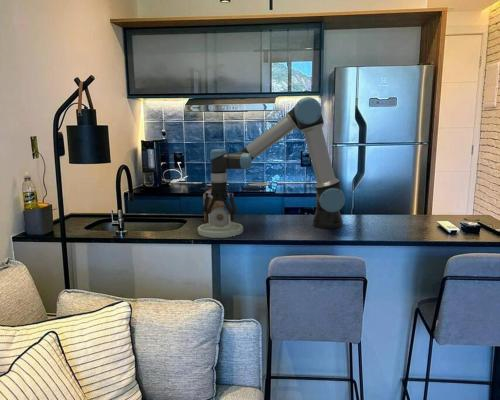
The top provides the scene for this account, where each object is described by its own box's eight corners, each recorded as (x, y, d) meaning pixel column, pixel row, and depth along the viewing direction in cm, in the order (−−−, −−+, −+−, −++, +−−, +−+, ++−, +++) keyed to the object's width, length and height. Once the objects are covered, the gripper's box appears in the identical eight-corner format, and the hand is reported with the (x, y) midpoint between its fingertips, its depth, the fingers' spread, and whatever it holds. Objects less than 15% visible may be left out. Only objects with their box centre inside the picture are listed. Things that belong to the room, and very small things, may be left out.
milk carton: (224, 222, 228) (223, 187, 225) (205, 223, 226) (203, 188, 223) (223, 218, 238) (222, 184, 235) (204, 219, 237) (202, 185, 233)
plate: (248, 227, 215) (247, 223, 215) (234, 239, 195) (234, 233, 194) (208, 225, 221) (208, 221, 221) (191, 236, 201) (190, 231, 201)
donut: (230, 226, 209) (230, 206, 208) (230, 227, 206) (229, 207, 204) (210, 226, 209) (209, 206, 208) (209, 228, 206) (209, 208, 204)
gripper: (243, 181, 204) (244, 226, 208) (200, 180, 210) (202, 224, 214) (238, 183, 197) (239, 229, 201) (194, 182, 203) (196, 227, 207)
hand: (220, 226), depth 208 cm, fingers closed on donut, 10 cm apart
